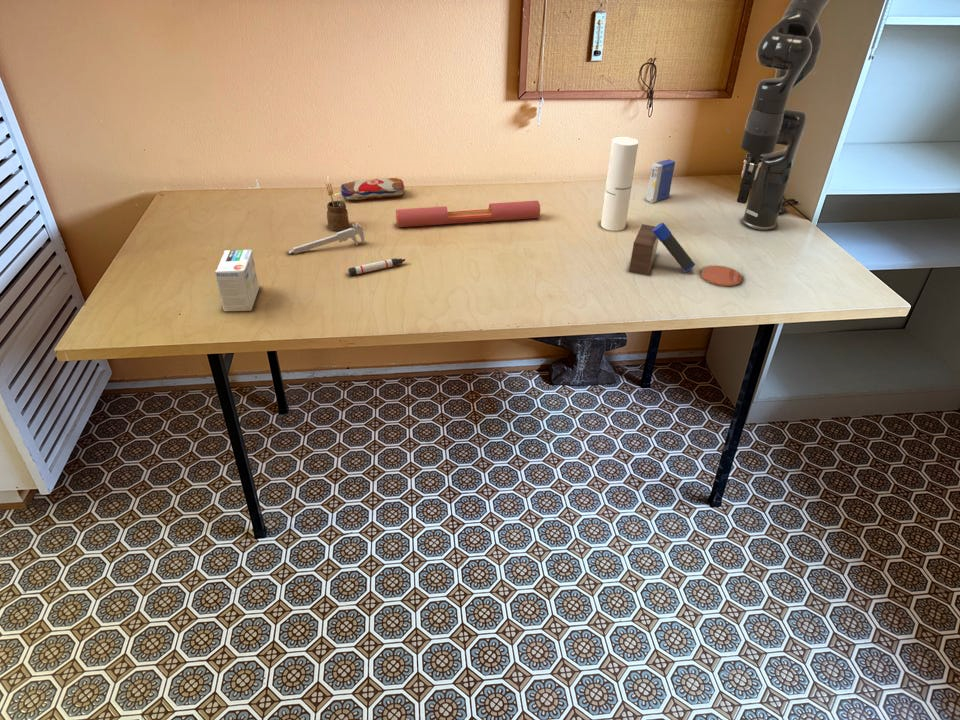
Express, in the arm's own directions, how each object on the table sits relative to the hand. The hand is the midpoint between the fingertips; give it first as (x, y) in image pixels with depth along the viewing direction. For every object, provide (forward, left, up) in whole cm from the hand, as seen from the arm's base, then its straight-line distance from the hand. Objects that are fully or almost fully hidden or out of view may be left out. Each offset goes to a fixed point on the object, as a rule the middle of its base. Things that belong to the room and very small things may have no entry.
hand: (743, 195), depth 169 cm
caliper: (+25, -102, -23) cm, 107 cm away
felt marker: (0, -14, -16) cm, 21 cm away
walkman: (-45, -24, -23) cm, 56 cm away
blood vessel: (-6, -73, -23) cm, 76 cm away
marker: (+30, -84, -23) cm, 92 cm away
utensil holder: (+12, -106, -23) cm, 109 cm away
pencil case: (-11, -107, -23) cm, 110 cm away
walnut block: (0, -21, -22) cm, 31 cm away
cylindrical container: (-20, -33, -23) cm, 45 cm away
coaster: (0, 0, -22) cm, 22 cm away
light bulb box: (+56, -107, -23) cm, 123 cm away
